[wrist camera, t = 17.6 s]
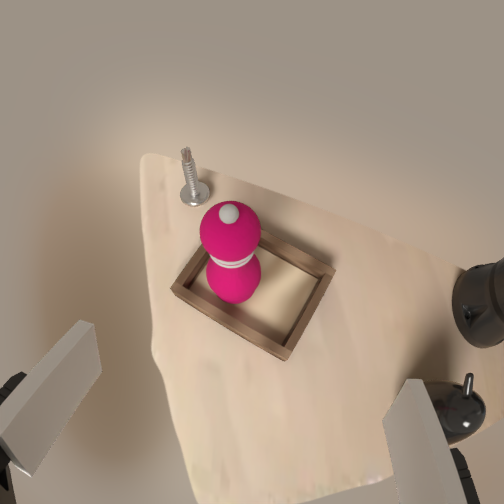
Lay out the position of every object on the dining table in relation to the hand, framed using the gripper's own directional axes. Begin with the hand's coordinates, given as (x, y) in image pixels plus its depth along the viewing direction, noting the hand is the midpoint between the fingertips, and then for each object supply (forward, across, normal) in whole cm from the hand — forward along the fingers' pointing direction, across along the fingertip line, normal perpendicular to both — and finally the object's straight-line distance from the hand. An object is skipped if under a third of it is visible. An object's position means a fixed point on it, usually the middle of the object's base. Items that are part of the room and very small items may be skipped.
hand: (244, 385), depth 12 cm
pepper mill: (+32, -4, -12) cm, 34 cm away
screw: (+42, -13, -3) cm, 44 cm away
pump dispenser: (+21, +27, -24) cm, 42 cm away
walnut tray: (+32, -1, -12) cm, 35 cm away
